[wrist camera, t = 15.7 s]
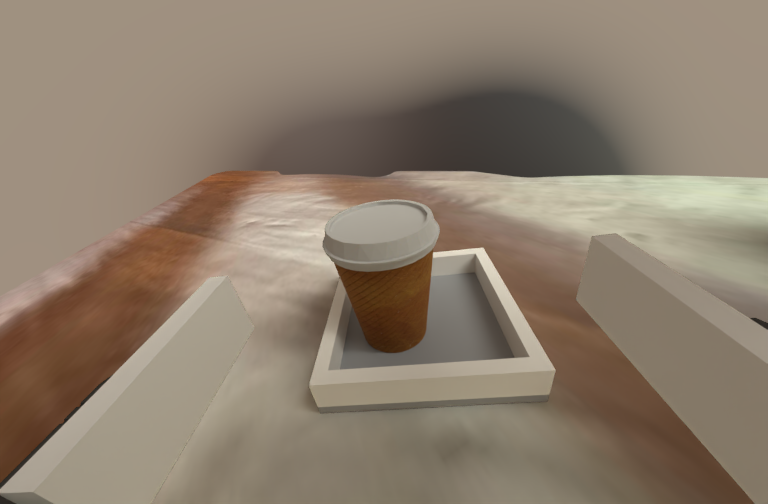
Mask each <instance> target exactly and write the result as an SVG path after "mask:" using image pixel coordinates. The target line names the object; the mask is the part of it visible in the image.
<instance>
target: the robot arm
mask: <svg viewBox="0 0 768 504" xmlns="http://www.w3.org/2000/svg"><path fill="white" fill-rule="evenodd" d="M576 300H577V301H578V302H579V304H580V305H581V306H582V307H583V308H584V309H585V310H586V312H587V313H588V314H589V315H590V316H591V317H592V318H593V320H594V321H595V322H596V323H597V324H598V325H599V326H600V328H601V329H602V330H603V331H604V332H605V333H606V334H607V336H608V337H609V338H610V339H611V340H612V341H613V342H614V344H615V345H616V346H617V347H618V348H619V349H620V350H621V352H622V353H623V354H624V355H625V356H626V357H627V358H628V359H629V361H630V362H631V363H632V364H633V365H634V366H635V367H636V369H637V370H638V371H639V372H640V373H641V374H642V375H643V377H644V378H645V379H646V380H647V381H648V382H649V383H650V385H651V386H652V387H653V388H654V389H655V390H656V391H657V393H658V394H659V395H660V396H661V397H662V398H663V399H664V401H665V402H666V403H667V404H668V405H669V406H670V407H671V409H672V410H673V411H674V412H675V413H676V414H677V415H678V417H679V418H680V419H681V420H682V421H683V422H684V423H685V424H686V426H687V427H688V428H689V429H690V430H691V431H692V432H693V434H694V435H695V436H696V437H697V438H698V439H699V440H700V442H701V443H702V444H703V445H704V446H705V447H706V448H707V450H708V451H709V452H710V453H711V454H712V455H713V456H714V458H715V459H716V460H717V461H718V462H719V463H720V464H721V466H722V467H723V468H724V469H725V470H726V471H727V472H728V474H729V475H730V476H731V477H732V478H733V479H734V480H735V481H736V483H737V484H738V485H739V486H740V487H741V488H742V489H743V491H744V492H745V493H746V494H747V495H748V496H749V497H750V499H751V500H752V501H753V502H754V503H755V504H768V323H766V322H764V321H761V320H759V319H757V318H748V317H747V316H745V315H743V314H742V313H740V312H739V311H737V310H736V309H734V308H732V307H731V306H729V305H728V304H726V303H725V302H723V301H721V300H720V299H718V298H717V297H715V296H714V295H712V294H710V293H709V292H707V291H706V290H704V289H703V288H701V287H699V286H698V285H696V284H695V283H693V282H692V281H690V280H688V279H687V278H685V277H684V276H682V275H681V274H679V273H678V272H676V271H674V270H673V269H671V268H670V267H668V266H667V265H665V264H663V263H662V262H660V261H659V260H657V259H656V258H654V257H652V256H651V255H649V254H648V253H646V252H645V251H643V250H641V249H640V248H638V247H637V246H635V245H634V244H632V243H630V242H629V241H627V240H626V239H624V238H623V237H621V236H619V235H618V234H607V235H598V236H592V238H591V242H590V246H589V250H588V254H587V258H586V262H585V266H584V270H583V273H582V277H581V281H580V285H579V289H578V293H577V297H576ZM253 330H254V326H253V324H252V322H251V320H250V318H249V316H248V314H247V312H246V310H245V308H244V306H243V304H242V302H241V300H240V298H239V296H238V294H237V293H236V291H235V289H234V287H233V285H232V283H231V281H230V279H229V277H228V276H220V277H211V278H208V279H207V280H206V281H205V282H204V283H203V284H202V285H201V287H200V288H199V289H198V290H197V291H196V292H195V293H194V294H193V295H192V296H191V297H190V298H189V299H188V300H187V301H186V302H185V303H184V304H183V305H182V306H181V307H180V308H179V309H178V310H177V311H176V312H175V313H174V314H173V315H172V316H171V317H170V318H169V319H168V320H167V321H166V322H165V323H164V324H163V325H162V326H161V327H160V328H159V329H158V330H157V331H156V332H155V333H154V334H153V335H152V336H151V337H150V338H149V339H148V340H147V341H146V342H145V343H144V344H143V345H142V346H141V347H140V348H139V349H138V350H137V351H136V352H135V353H134V354H133V355H132V356H131V357H130V358H129V359H128V360H127V361H126V362H125V363H124V364H123V365H122V366H121V367H120V368H119V369H118V370H117V371H116V372H115V373H114V374H113V375H111V376H110V377H109V378H107V379H106V380H105V381H103V382H102V383H101V384H99V385H98V386H97V387H96V388H95V389H94V390H93V391H92V392H91V393H90V394H89V395H88V396H87V397H86V398H85V399H84V400H83V401H82V402H81V405H80V407H76V408H75V409H74V410H73V411H72V412H71V413H70V414H69V415H68V416H67V417H66V418H65V419H64V420H65V421H64V423H63V424H59V425H58V426H57V427H56V428H55V429H54V430H53V431H52V432H51V433H50V434H49V435H48V436H47V437H46V438H45V439H44V440H43V441H42V442H41V443H40V444H39V445H38V446H37V447H36V448H35V449H34V450H33V451H32V452H31V453H30V454H29V455H28V456H27V457H26V458H25V459H24V460H23V461H22V462H21V463H20V464H19V465H18V466H17V467H16V468H15V469H14V470H13V471H12V472H11V473H10V474H9V475H8V476H7V477H6V478H5V479H4V480H3V481H2V482H1V483H0V504H152V502H153V500H154V498H155V497H156V495H157V493H158V492H159V490H160V488H161V487H162V485H163V483H164V481H165V480H166V478H167V476H168V475H169V473H170V471H171V470H172V468H173V466H174V464H175V463H176V461H177V459H178V458H179V456H180V454H181V452H182V451H183V449H184V447H185V446H186V444H187V442H188V441H189V439H190V437H191V435H192V434H193V432H194V430H195V429H196V427H197V425H198V424H199V422H200V420H201V418H202V417H203V415H204V413H205V412H206V410H207V408H208V406H209V405H210V403H211V401H212V400H213V398H214V396H215V395H216V393H217V391H218V389H219V388H220V386H221V384H222V383H223V381H224V379H225V378H226V376H227V374H228V372H229V371H230V369H231V367H232V366H233V364H234V362H235V360H236V359H237V357H238V355H239V354H240V352H241V350H242V349H243V347H244V345H245V343H246V342H247V340H248V338H249V337H250V335H251V333H252V332H253Z"/></svg>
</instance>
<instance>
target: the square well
mask: <svg viewBox="0 0 768 504" xmlns="http://www.w3.org/2000/svg"><path fill="white" fill-rule="evenodd" d="M340 278H341V277H340ZM340 278H339V281H338V285H337V288H336V292H335V295H334V299H333V302H332V306H331V309H330V313H329V316H328V320H327V323H326V327H325V330H324V334H323V337H322V341H321V344H320V348H319V351H318V355H317V358H316V362H315V365H314V369H313V372H312V376H311V379H310V383H309V388H310V390H311V392H312V395H313V397H314V400H315V402H316V404H317V407H318V409H319V412H320V413H334V412H352V411H371V410H390V409H409V408H428V407H447V406H466V405H485V404H504V403H523V402H542V401H548V398H549V394H550V390H551V386H552V383H553V379H554V375H555V371H556V370H555V368H554V367H553V365H552V363H551V362H550V360H549V358H548V356H547V355H546V353H545V351H544V350H543V348H542V346H541V345H540V343H539V341H538V340H537V338H536V336H535V335H534V333H533V331H532V329H531V328H530V326H529V324H528V323H527V321H526V319H525V318H524V316H523V314H522V313H521V311H520V309H519V308H518V306H517V304H516V302H515V301H514V299H513V297H512V296H511V294H510V292H509V291H508V289H507V287H506V286H505V284H504V282H503V281H502V279H501V277H500V275H499V274H498V272H497V270H496V269H495V267H494V265H493V264H492V262H491V260H490V259H489V257H488V255H487V254H486V252H485V250H484V248H475V249H465V250H455V251H445V252H435V253H433V260H432V271H431V283H430V294H429V304H428V315H427V326H426V333H425V336H424V337H423V339H422V340H421V341H420V343H419V344H417V345H416V346H415V347H413V348H411V349H409V350H406V351H403V352H398V353H386V352H381V351H379V350H376V349H374V348H373V347H372V346H371V345H369V344H368V342H367V341H366V339H365V336H364V334H363V333H364V332H363V331H362V328H361V326H360V324H359V322H358V319H357V317H356V314H355V312H354V309H353V307H352V304H351V302H350V299H349V298H348V294H347V293H346V290H345V288H344V286H343V283H342V281H341V279H340Z"/></svg>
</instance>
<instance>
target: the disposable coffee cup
mask: <svg viewBox="0 0 768 504" xmlns="http://www.w3.org/2000/svg"><path fill="white" fill-rule="evenodd" d="M439 232H440V230H439V225H438V224H437V222H436V221H435V220H434V217H433V214H432V212H431V210H430V209H429V208H428V207H427V206H425V205H423V204H421V203H418V202H414V201H408V200H381V201H374V202H369V203H364V204H361V205H357V206H354V207H351V208H348V209H346V210H344V211H342V212H340V213H338V214H336V215H335V216H334V217H332V218H331V219H330V220H329V221H328V222H327V224H326V227H325V237H324V240H323V248H324V251H325V253H326V254H327V255H328V256H329V257H330V259H331V260H332V261H333V262H334V264H335V266H336V268H337V271H338V274H339V276H340V277H341V278H340V279H341V281H342V283H343V286H344V288H345V290H346V293H347V294H348V298H349V299H350V302H351V304H352V307H353V309H354V312H355V314H356V317H357V319H358V322H359V324H360V326H361V328H362V331H363V332H364V333H363V334H364V336H365V339H366V341H367V342H368V344H369V345H371V346H372V347H373V348H374V349H376V350H379V351H381V352H386V353H398V352H403V351H406V350H409V349H411V348H413V347H415V346H416V345H417V344H419V343H420V341H421V340H422V339H423V337H424V336H425V333H426V326H427V315H428V304H429V294H430V283H431V271H432V260H433V247H434V246H435V244H436V241H437V239H438V236H439Z"/></svg>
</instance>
